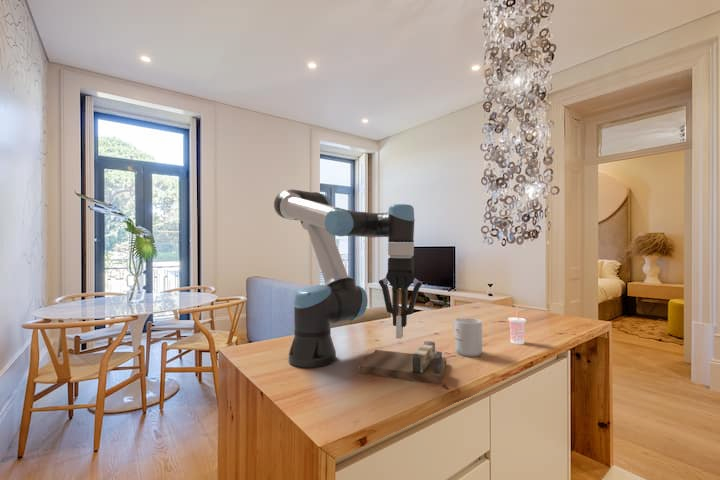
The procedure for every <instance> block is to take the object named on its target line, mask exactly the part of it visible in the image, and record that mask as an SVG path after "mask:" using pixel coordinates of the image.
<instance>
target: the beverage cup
mask: <svg viewBox="0 0 720 480" xmlns="http://www.w3.org/2000/svg"><path fill="white" fill-rule="evenodd" d="M518 307H519V306H518V305H516V306H515V313H516V314H515V315H516V316H515V317H508V318H507V319H508V324H509V335H510V337H509V338H510V343H511V344H515V345H524V344H525V332H526V331H525V329H526V322H527V320H526V319H525V318H523V317H518V312H519V311H518V309H519V308H518Z"/></svg>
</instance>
